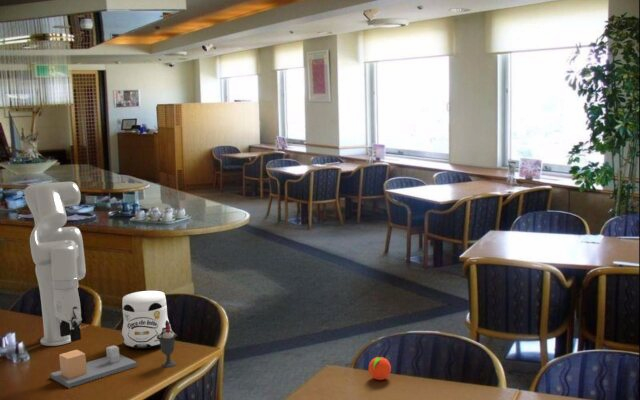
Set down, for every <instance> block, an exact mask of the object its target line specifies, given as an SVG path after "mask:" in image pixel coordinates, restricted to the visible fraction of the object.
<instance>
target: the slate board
mask: <svg viewBox="0 0 640 400" xmlns="http://www.w3.org/2000/svg"><path fill="white" fill-rule="evenodd" d="M119 357H120V362H117V363H113V364H111V363H109V362H107V356H104V357H101V358H97V359H94V360H91V361H90V360H89V361H88V362H87V361H86V367H87V373H86V374H83V375H80V376H77V377H74V378H70V379H69V378H67V377H65V376H63V375H62V374H61V369H60V370H56V371H53V372H51V373H50V375H49V376H50V379H52V380H54V381H56V382H58V383H59V384H60V385H62V386H64V387H66V388H67V387H68V389H71V388H74V387H77V386H81V385H83V384H87V383H90V382H92V380H93V381H96V380H99V379H101V377H102V378H106V377H109V376H112V375H115V374H118V373H120V372H123V371H127V370H129V369H133V368H134V369H135V368H136V367H138V363H137V361H135V360H133V359H131V358H129V357H126V356H124V355H123V354H120V353H119ZM117 372H118V373H117ZM114 373H115V374H114ZM111 374H112V375H111ZM108 375H109V376H108ZM98 378H99V379H98ZM95 379H96V380H95ZM89 381H90V382H89ZM86 382H87V383H86ZM73 386H74V387H73Z"/></svg>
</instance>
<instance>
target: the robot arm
mask: <svg viewBox="0 0 640 400" xmlns="http://www.w3.org/2000/svg"><path fill="white" fill-rule="evenodd" d="M81 197H82V196H81V191H80V188H79V186H78V185H77V183H76V182H74V181H57V182H45V183H36V184H31V185H29V186H27V187H26V188H25V189H24V199H25V202H26V204H27V207H28V209H29V210H30V212H31V214H32V216H33V217H32V218H33V220H34V226H33V229H32V231H31V232H30V233H31V234H30V236H29V246H30V253H31V257H32V258H31V259H32V261H33V263H34V264H35V267H34V268H35V270H34V271H35V275H36V280H37V285H38V289H39V295H40V302H41V303H40V304H41V313H42V314H41V315H42V323H43V324H42V325H43V326H42V327H43V336H42V337H41V338H40V345H42V346H47V347H55V346H56V347H58V346H61V345H62V346H63V345H66V344H70V343H73V342H76V341H80V340H82V333H81V327H82V326H81V325H82V320H83V318H82V309H81V301H80V296H79V290H78V288H79V281H81V280H82V279H84V278H85V277H86V273H87V272H86V271H87V270H86V257H85V249H84V241H83V235H82V232H81V230H80V228H78V227H77V226H65V225H66V224H67V221H68V216H67V211H66V207H67V208H68V207H73V206H75V207H77V206H79V205H80V203H81V199H82V198H81ZM73 322H74V323H73Z"/></svg>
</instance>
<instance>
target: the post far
mask: <svg viewBox="0 0 640 400" xmlns="http://www.w3.org/2000/svg"><path fill="white" fill-rule="evenodd" d="M105 349H106V357H107V362H109V363H111V364H113V363H117V362H120V357H119V354H120V347H118V346H117V345H114V344H113V345H110V346H107V347H106V348H105Z"/></svg>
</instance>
